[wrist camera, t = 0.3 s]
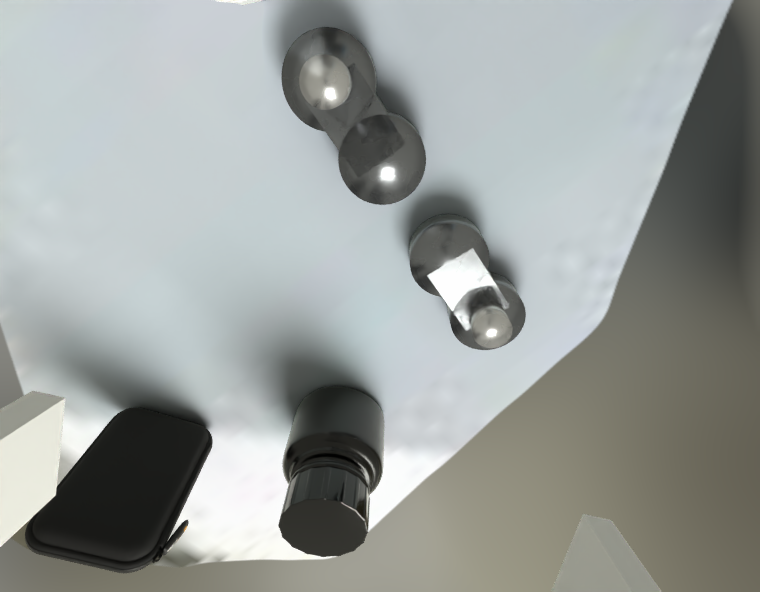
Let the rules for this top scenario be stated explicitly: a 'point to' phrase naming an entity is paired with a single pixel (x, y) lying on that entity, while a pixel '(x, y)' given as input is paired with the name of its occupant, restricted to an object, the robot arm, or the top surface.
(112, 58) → the top surface
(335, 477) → the ink bottle
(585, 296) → the top surface
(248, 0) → the white cup
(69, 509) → the black rounded slab
